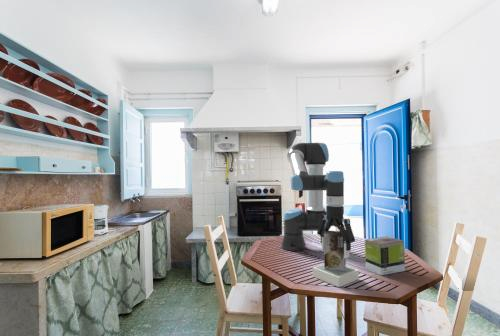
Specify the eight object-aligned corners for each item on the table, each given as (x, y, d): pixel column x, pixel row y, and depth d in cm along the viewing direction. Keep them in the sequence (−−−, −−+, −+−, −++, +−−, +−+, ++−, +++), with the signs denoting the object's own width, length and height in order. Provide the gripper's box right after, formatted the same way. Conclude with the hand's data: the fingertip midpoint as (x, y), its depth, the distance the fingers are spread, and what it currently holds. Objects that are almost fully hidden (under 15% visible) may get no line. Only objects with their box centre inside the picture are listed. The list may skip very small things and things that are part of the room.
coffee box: (345, 266, 125) (345, 231, 125) (345, 271, 119) (345, 234, 119) (324, 264, 128) (324, 229, 128) (323, 269, 122) (323, 232, 122)
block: (312, 276, 125) (312, 267, 125) (332, 269, 133) (332, 260, 133) (338, 287, 113) (338, 276, 113) (358, 279, 121) (358, 269, 121)
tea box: (388, 264, 139) (388, 235, 139) (405, 271, 130) (405, 240, 130) (364, 268, 134) (364, 238, 134) (381, 276, 125) (380, 243, 125)
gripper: (309, 203, 130) (309, 249, 130) (353, 209, 111) (353, 263, 111) (319, 202, 135) (320, 246, 135) (363, 207, 115) (364, 259, 115)
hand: (335, 254), depth 123 cm, fingers open, 11 cm apart
